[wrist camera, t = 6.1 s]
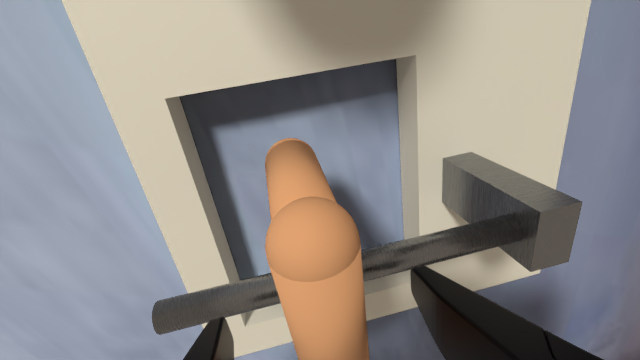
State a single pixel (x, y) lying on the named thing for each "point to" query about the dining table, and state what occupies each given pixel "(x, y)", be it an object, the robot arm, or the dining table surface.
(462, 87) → the white open frame tray
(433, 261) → the hook arm
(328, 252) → the cord bight
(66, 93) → the dining table surface
